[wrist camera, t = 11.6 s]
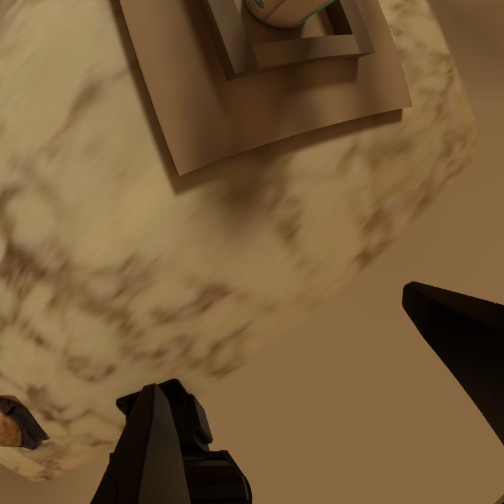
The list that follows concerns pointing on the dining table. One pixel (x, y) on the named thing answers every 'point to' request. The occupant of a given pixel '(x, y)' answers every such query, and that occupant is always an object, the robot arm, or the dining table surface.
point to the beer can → (285, 11)
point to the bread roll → (18, 425)
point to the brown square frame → (259, 73)
